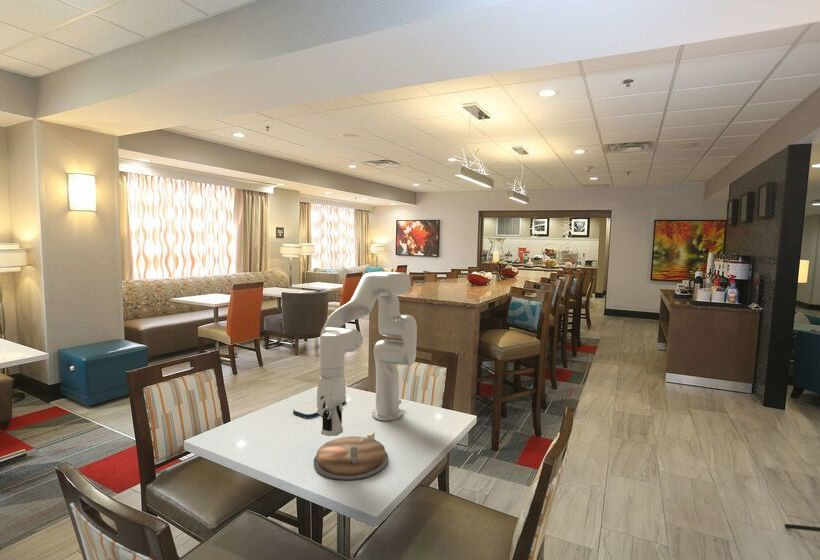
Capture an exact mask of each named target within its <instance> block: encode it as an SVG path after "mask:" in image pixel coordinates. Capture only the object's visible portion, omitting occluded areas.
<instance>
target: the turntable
mask: <svg viewBox="0 0 820 560" xmlns="http://www.w3.org/2000/svg"><path fill="white" fill-rule="evenodd" d="M385 451H386V448H385V446H384V445H383V444H382V443H381V442H379V440H376V439H375V440H374V439H371V438H367V437H365V436H359V435H358V436H356V435H354V436H343V437H338V438H334V439H331V440H329V441H327V442H325V443H324V444H322V445H321V446H320V447H319V448H318V450H317V451H316V455H317V464H318V465H319V467H320V468H322V469H323V470H325V471H327V472H329V473H333V474H338V475H357V474H362V473H366V472H369V471H372V470H374V469H376V468H377V467H379V466H380V465H381V464H382V463H383V462H384V460H385Z"/></svg>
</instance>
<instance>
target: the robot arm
mask: <svg viewBox="0 0 820 560" xmlns="http://www.w3.org/2000/svg"><path fill="white" fill-rule="evenodd" d="M411 284H412V281H411V278H410V275H409V274H408V273H406V272H402V271H401V272H400V271H399V272H396V271H374V272H366V273H365V274H363V275H362V277H360V280H359V282H358V284H357V285H356V288H355V290H354V292H353V295H352V296H351V298H350V300H349V301H348V302H346V303H345V304H343V305H341V306H340V307H339V308H337V309H335V311H334V312H332V313H331V314H330V315H329V316H328V317H327V319H326V321H325V323H324V326H323V327H322V329H321V331H320V335H319V343H320V344H319V348H320V349H319V351H320V353H319V358H320V359H319V362H320V364H319V369H320V370H319V374H320V376H319V379H318V384H317V390H316V391H317V393H316V399H317V408H318V410H317V413H318V414H320V415H319V416H320V417H321V419H322V427H323V430H327V431H331V430H332V418H331V411H332V409H333V408H334V407H336V409H337V413H338V416H339V419H340V422H341V424H342V425H343V410H344V408H343V407H344V405H345V404H344V402H345V400H347V396H346V392H347V391H346V378H345V354H346V353H352V352H356V351H358V350H359V349H360V348H361V347H362V344H363V334H362V333H361V331H359V330H358V329H355V328H346V327H342V326H344V325H345V324H347V323H349V322H352V321H355V320H358V319H361V318H364V317H367V316H368V315H370V314H371V312H372V310H373V309H374V306H375V304H376V301H377V302H378V303H377V304H378V318H377V322H378V323H377V328H378V333H379V335H381V336H384V337H389V338H395V340H394V339H380V340H378V341H376V343H375V344H374V347H373V357H374V363H375V409H374V410H372V412H371V416H372V417H373V418H374V419H375V420H378V421H386V422H390V421H396V420H399V419H400V418H402V416H403V410H402V409H400V407H399V406H400V405H401V404H402V399H399V398H400V373H399V370H398V367H397V366H399V365H400V366H405V367H406V366H408V367H409V366H412V365H413V364H414V363H415V360H416V357H417V342H418V341H417V340H418V338H417V337H418V333H417V332H418V324H417V320H416V318H415V317H414V316H412V315H411V314H402V313H400V300H399V298H398V296H403V295H406V294H407V293H408V292H409V291H410V289H411V286H412V285H411ZM396 338H399V339H402V340H396ZM326 406H327V408H326ZM326 410H327V412H328V414H327V412H325V411H326Z"/></svg>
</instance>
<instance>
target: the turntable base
mask: <svg viewBox="0 0 820 560" xmlns="http://www.w3.org/2000/svg"><path fill="white" fill-rule="evenodd" d="M375 435H376V433H375V431H371V432H369V433H368V434H367V438H371V439H374V440H376V439H375ZM388 464H389V454H388V451H386V450H385V460H384V462H383V463H382V464H381V465H380V466H379V467H377V468H376V469H374V470H372V471H369V472H366V473H362V474H357V475H338V474H333V473H329V472H327V471H325V470H323V469H322V468H320V467H319V465H318V464H317V454H316V455H315V456H314V458H313V469H314V471H316V473H317V474H318V475H320V476H322V477H324V478H326V479H329V480H332V481H337V482H338V481H339V482H355V481H361V480H366V479H369V478H372V477H374V476H376V475H378V474H380V473H381V472H383V471H384V470H385V469H386V468H387V466H388Z"/></svg>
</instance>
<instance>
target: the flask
mask: <svg viewBox="0 0 820 560" xmlns="http://www.w3.org/2000/svg"><path fill="white" fill-rule="evenodd" d="M326 413H327V414H328V411H327V412H326ZM331 418H332V430H331V431H327V430H323V426H321V427H322V428H321V431H320V432H321V433H320V434H321V435H323V436H326V437H335V436H339V435H340V434H342V433H344V427H343V423H342V424H341V422H340V419H339V416H338V413H337V409H336V407H334V408H333V409H332V411H331Z"/></svg>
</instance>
